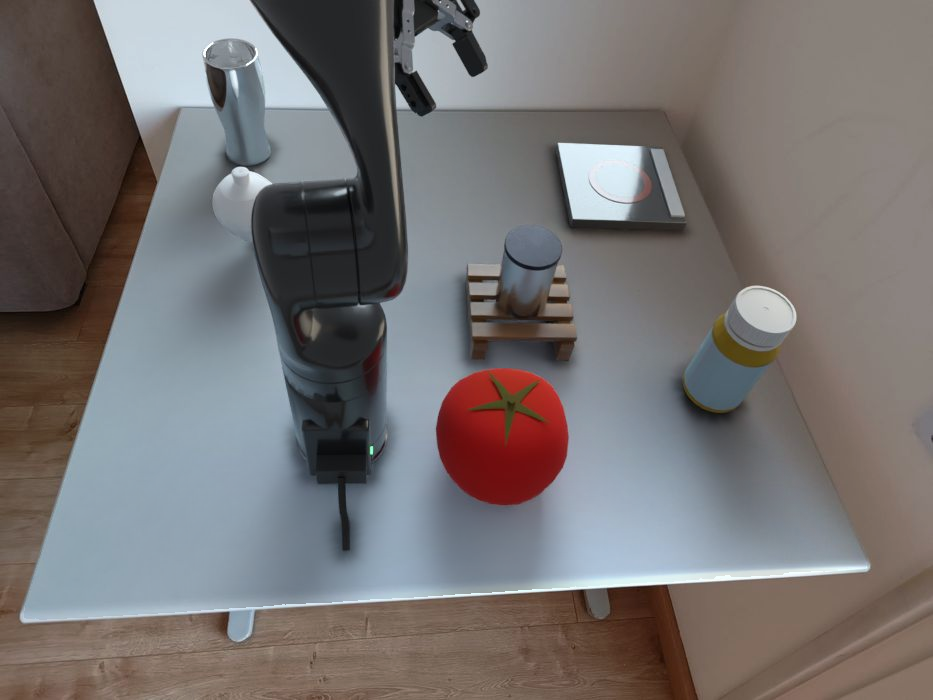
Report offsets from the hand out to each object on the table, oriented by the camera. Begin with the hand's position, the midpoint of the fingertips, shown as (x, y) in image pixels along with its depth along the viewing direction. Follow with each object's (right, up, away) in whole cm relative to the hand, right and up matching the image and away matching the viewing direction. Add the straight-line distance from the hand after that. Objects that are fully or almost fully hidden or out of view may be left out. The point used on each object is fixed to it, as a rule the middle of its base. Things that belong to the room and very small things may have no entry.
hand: (455, 92), depth 69 cm
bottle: (+29, -30, +15) cm, 44 cm away
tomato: (+4, -37, +7) cm, 37 cm away
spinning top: (-25, -12, +21) cm, 35 cm away
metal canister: (+7, -19, +15) cm, 25 cm away
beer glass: (-29, +3, +31) cm, 43 cm away
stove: (+23, -2, +34) cm, 41 cm away
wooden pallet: (+7, -21, +18) cm, 29 cm away
